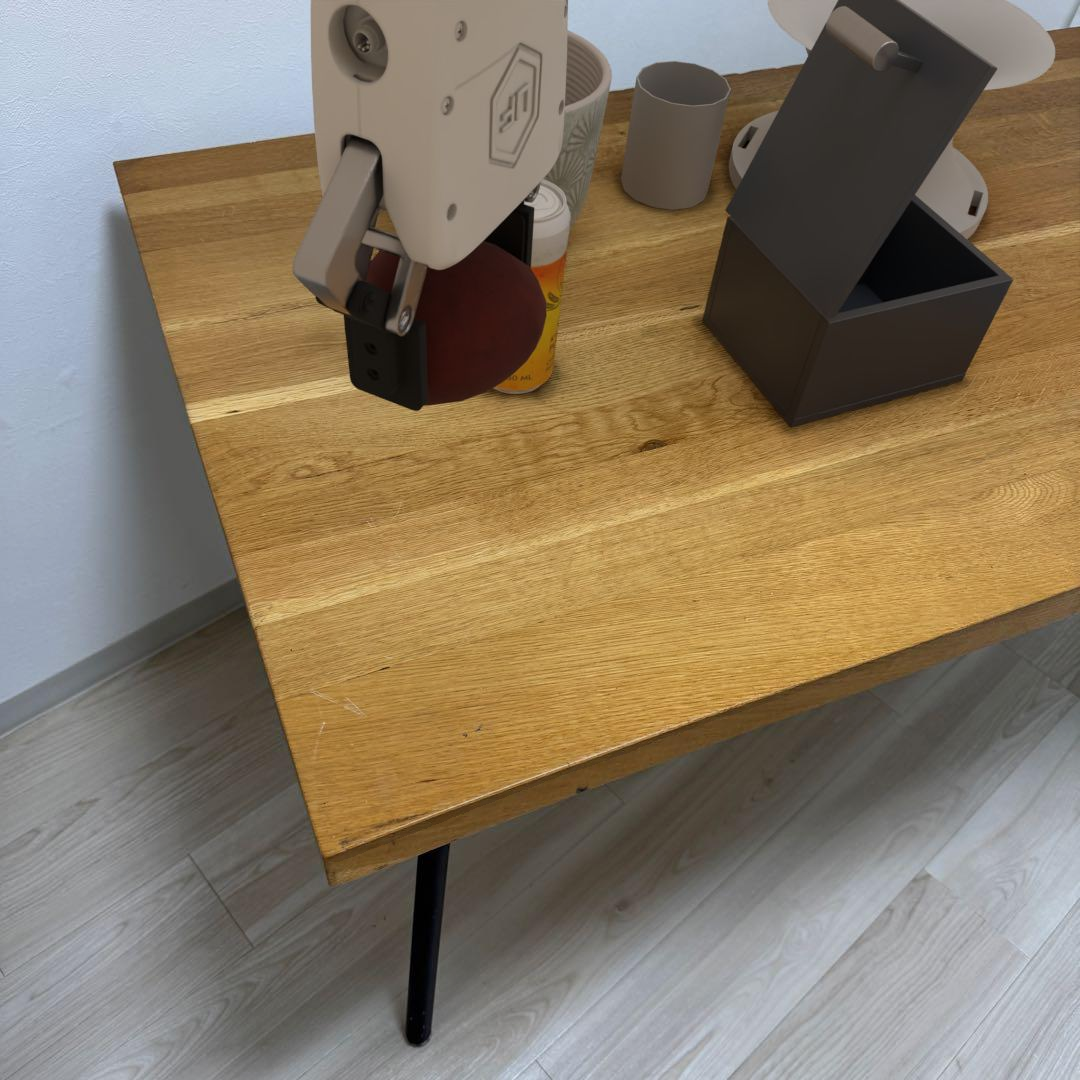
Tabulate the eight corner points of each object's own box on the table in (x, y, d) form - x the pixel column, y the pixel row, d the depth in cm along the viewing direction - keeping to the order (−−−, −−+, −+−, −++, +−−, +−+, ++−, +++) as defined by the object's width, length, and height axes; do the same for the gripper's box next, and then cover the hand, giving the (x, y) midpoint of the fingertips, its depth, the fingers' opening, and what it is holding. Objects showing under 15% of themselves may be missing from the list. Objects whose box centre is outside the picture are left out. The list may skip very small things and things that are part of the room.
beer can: (564, 390, 78) (586, 215, 67) (489, 405, 77) (499, 229, 65) (535, 341, 82) (552, 167, 70) (463, 355, 80) (468, 179, 69)
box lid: (861, -27, 67) (808, -48, 64) (998, 68, 59) (945, 49, 57) (732, 211, 78) (682, 202, 75) (834, 318, 70) (782, 312, 67)
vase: (947, 131, 110) (1009, -24, 99) (1012, 268, 94) (1095, 102, 82) (717, 111, 109) (752, -48, 97) (743, 246, 93) (788, 75, 81)
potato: (575, 401, 44) (590, 262, 39) (395, 464, 41) (385, 322, 36) (494, 308, 48) (497, 170, 43) (325, 358, 45) (306, 217, 40)
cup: (722, 182, 100) (745, 81, 92) (684, 219, 95) (705, 116, 87) (646, 153, 102) (663, 52, 95) (605, 188, 98) (619, 84, 90)
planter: (437, 166, 98) (437, -2, 86) (609, 205, 96) (633, 39, 84) (368, 262, 87) (359, 85, 75) (561, 309, 85) (581, 134, 73)
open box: (863, 284, 91) (902, 183, 83) (962, 381, 83) (1014, 279, 75) (701, 320, 85) (727, 216, 78) (790, 427, 78) (828, 323, 70)
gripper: (392, -25, 23) (416, 500, 36) (669, -199, 34) (610, 258, 47) (128, -96, 25) (242, 429, 38) (469, -239, 36) (466, 211, 49)
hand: (445, 333), depth 43 cm, fingers closed on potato, 8 cm apart
